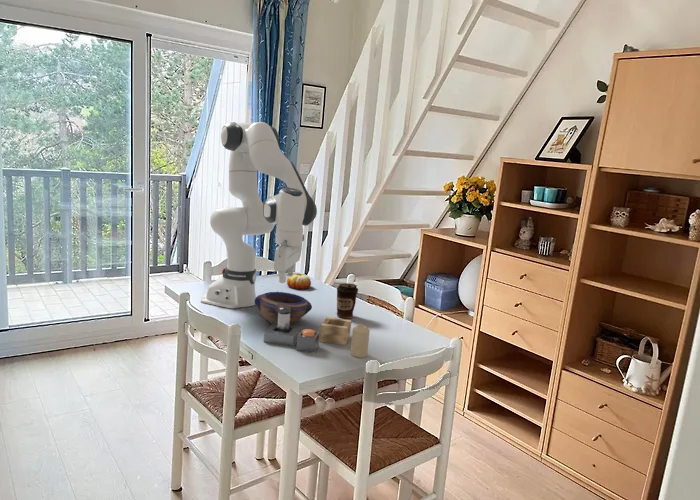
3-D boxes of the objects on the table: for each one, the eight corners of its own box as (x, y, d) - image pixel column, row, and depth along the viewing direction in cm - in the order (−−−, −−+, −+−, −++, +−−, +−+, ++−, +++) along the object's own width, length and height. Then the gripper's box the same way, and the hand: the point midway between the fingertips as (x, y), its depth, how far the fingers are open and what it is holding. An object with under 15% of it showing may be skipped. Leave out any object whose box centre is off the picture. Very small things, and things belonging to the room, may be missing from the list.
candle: (349, 350, 176) (352, 322, 174) (366, 351, 176) (369, 323, 174) (351, 357, 170) (353, 327, 168) (368, 358, 171) (371, 328, 169)
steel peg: (274, 340, 179) (276, 309, 177) (278, 336, 183) (280, 305, 181) (286, 341, 179) (288, 310, 177) (290, 337, 183) (292, 307, 181)
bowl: (316, 324, 198) (318, 299, 196) (277, 333, 186) (279, 306, 184) (287, 311, 211) (288, 287, 209) (248, 318, 198) (250, 293, 196)
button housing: (296, 350, 172) (297, 335, 171) (301, 343, 178) (302, 329, 177) (314, 352, 171) (315, 338, 170) (318, 346, 177) (319, 332, 176)
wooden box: (319, 341, 182) (321, 324, 180) (325, 332, 190) (326, 317, 189) (345, 345, 180) (347, 328, 179) (350, 336, 189) (351, 320, 188)
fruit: (285, 288, 242) (286, 271, 243) (287, 289, 252) (288, 272, 253) (310, 290, 242) (311, 272, 243) (311, 290, 252) (312, 274, 253)
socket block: (263, 341, 177) (264, 332, 176) (272, 332, 187) (273, 322, 186) (292, 346, 175) (293, 336, 175) (300, 336, 185) (301, 326, 184)
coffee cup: (353, 321, 206) (356, 289, 203) (332, 318, 207) (335, 286, 205) (357, 314, 214) (360, 283, 212) (337, 311, 216) (339, 281, 213)
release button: (300, 345, 173) (301, 332, 172) (303, 341, 177) (304, 328, 176) (312, 347, 172) (313, 334, 171) (315, 342, 176) (316, 330, 175)
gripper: (289, 244, 164) (287, 287, 166) (305, 234, 184) (302, 273, 186) (270, 242, 165) (267, 285, 167) (288, 232, 185) (285, 271, 187)
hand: (286, 279), depth 177 cm, fingers open, 8 cm apart
